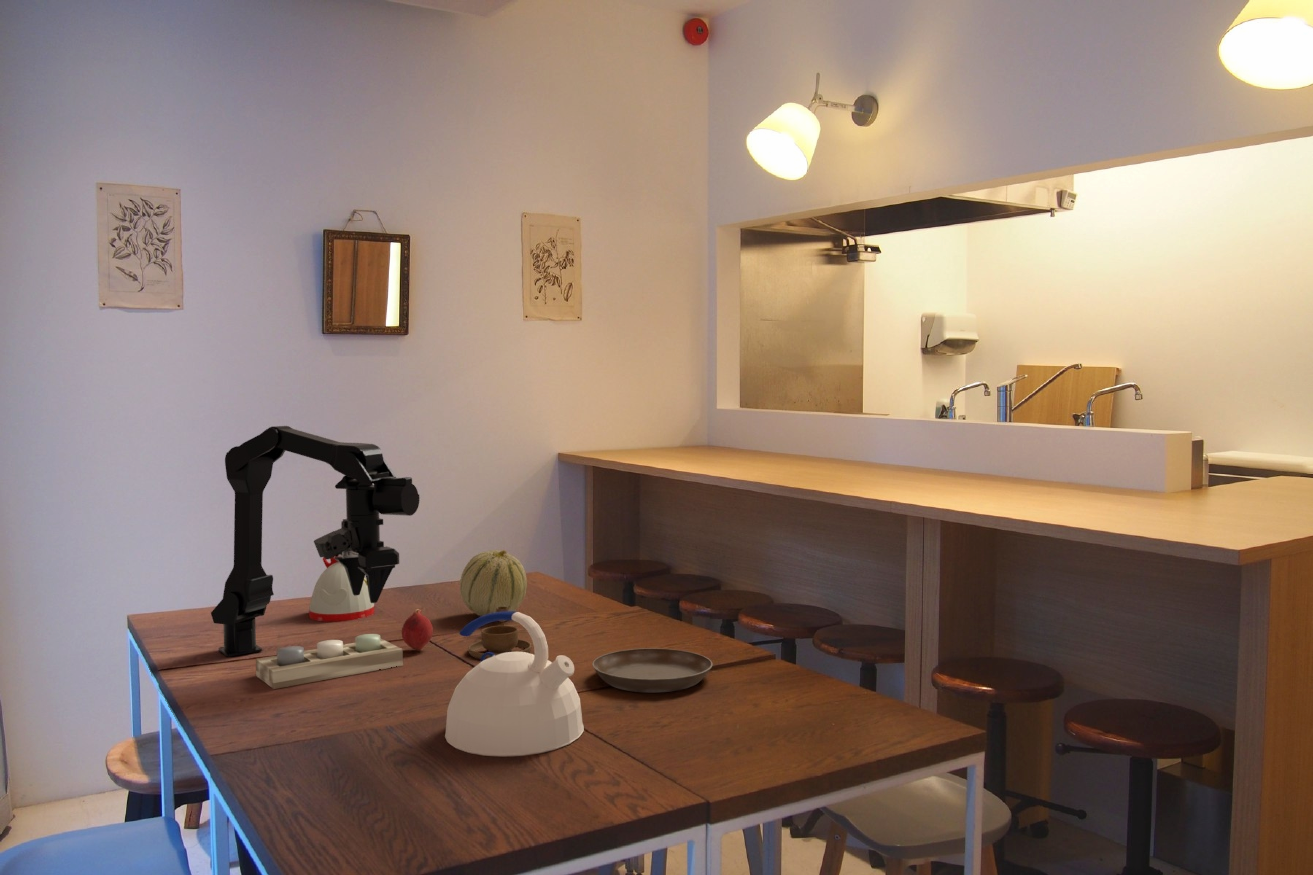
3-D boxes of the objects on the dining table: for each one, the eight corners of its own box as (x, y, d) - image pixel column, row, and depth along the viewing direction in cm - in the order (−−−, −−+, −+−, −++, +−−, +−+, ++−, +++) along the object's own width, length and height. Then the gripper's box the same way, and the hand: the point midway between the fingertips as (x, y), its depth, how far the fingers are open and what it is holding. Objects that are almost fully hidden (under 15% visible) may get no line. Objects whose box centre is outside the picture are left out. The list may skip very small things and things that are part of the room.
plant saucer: (639, 658, 192) (639, 640, 192) (734, 675, 180) (734, 657, 180) (568, 685, 175) (567, 665, 175) (667, 706, 163) (667, 686, 163)
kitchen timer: (363, 621, 222) (362, 552, 221) (300, 621, 222) (298, 553, 221) (381, 607, 236) (380, 542, 235) (322, 607, 236) (320, 542, 235)
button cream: (313, 655, 184) (313, 642, 184) (337, 651, 187) (337, 638, 187) (322, 660, 181) (321, 647, 181) (346, 656, 183) (346, 643, 183)
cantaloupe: (472, 608, 233) (471, 543, 233) (535, 610, 231) (534, 544, 230) (450, 624, 219) (448, 554, 218) (517, 625, 217) (516, 555, 216)
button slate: (273, 662, 180) (273, 648, 180) (299, 658, 183) (298, 644, 182) (281, 667, 176) (281, 653, 176) (307, 663, 179) (307, 649, 179)
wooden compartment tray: (256, 675, 181) (255, 658, 181) (381, 653, 195) (380, 638, 195) (273, 688, 173) (273, 671, 173) (402, 665, 187) (402, 649, 187)
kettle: (526, 768, 137) (524, 634, 136) (414, 741, 148) (411, 616, 147) (612, 725, 154) (611, 606, 153) (506, 703, 165) (504, 591, 164)
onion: (425, 655, 194) (424, 613, 193) (397, 653, 195) (396, 612, 194) (437, 647, 199) (437, 606, 199) (410, 646, 201) (409, 605, 200)
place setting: (442, 658, 194) (441, 627, 193) (498, 633, 212) (497, 605, 212) (523, 667, 187) (523, 635, 187) (573, 641, 205) (573, 612, 205)
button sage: (351, 649, 188) (351, 636, 188) (374, 645, 191) (374, 632, 191) (360, 654, 185) (360, 641, 185) (384, 650, 188) (384, 637, 187)
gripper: (301, 512, 189) (303, 596, 190) (337, 523, 174) (339, 614, 175) (360, 507, 195) (362, 588, 196) (399, 517, 181) (401, 605, 181)
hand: (364, 598), depth 187 cm, fingers open, 8 cm apart
